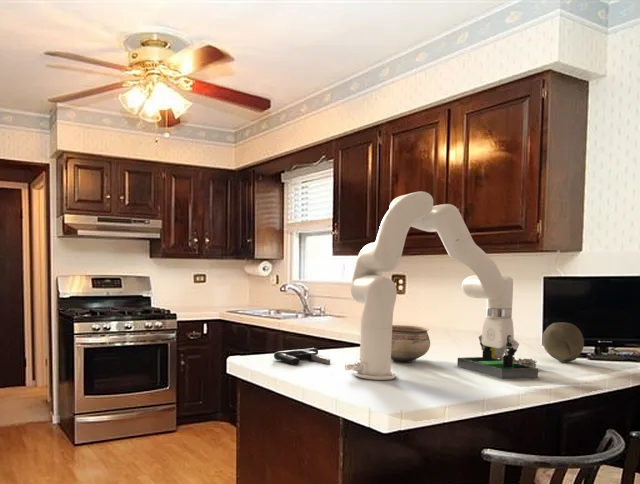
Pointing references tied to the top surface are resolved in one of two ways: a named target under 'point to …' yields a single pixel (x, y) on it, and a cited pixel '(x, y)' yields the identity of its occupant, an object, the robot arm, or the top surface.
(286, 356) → the door handle
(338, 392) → the top surface
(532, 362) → the grey lumpy piece
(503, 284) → the robot arm
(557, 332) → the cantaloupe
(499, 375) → the dark grey tray
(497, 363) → the block
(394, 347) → the cooking pot
